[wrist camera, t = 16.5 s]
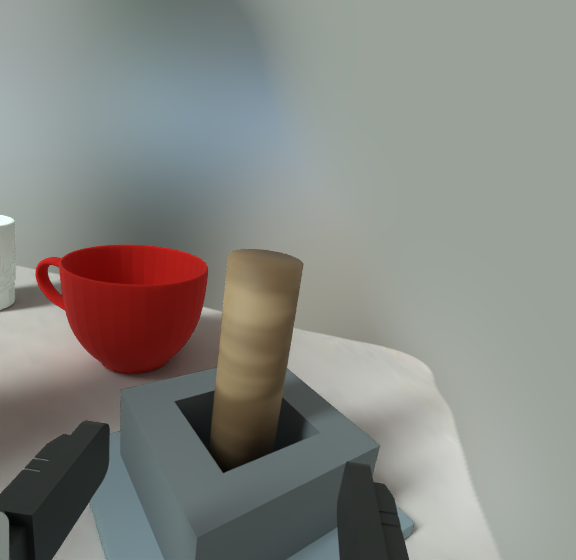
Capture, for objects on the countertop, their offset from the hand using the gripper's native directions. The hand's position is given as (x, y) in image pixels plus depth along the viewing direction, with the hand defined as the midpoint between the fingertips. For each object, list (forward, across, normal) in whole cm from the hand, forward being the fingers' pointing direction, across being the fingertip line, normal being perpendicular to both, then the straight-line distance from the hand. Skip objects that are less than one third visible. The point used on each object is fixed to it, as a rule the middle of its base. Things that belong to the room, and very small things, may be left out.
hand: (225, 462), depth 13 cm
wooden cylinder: (+10, 0, -10) cm, 14 cm away
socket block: (+10, 0, -11) cm, 15 cm away
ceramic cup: (+24, -15, -12) cm, 31 cm away
